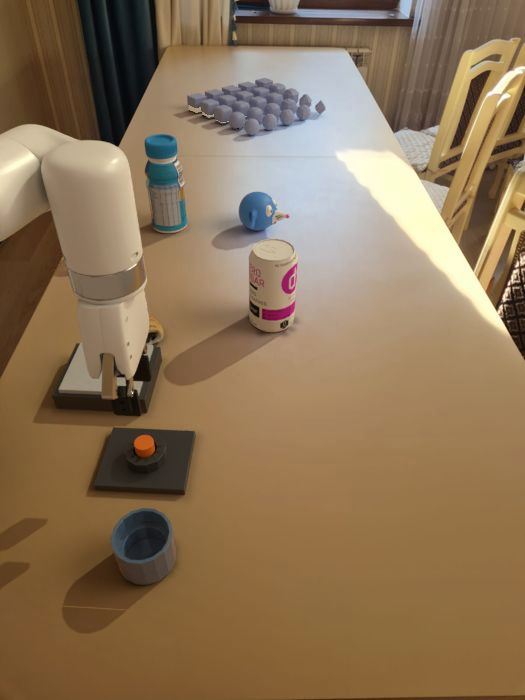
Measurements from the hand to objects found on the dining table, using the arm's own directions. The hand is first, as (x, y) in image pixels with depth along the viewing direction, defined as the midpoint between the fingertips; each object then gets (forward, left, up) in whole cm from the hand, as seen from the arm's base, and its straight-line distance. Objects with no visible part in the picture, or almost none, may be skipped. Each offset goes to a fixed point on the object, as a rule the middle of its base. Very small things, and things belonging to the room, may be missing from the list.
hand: (133, 395), depth 66 cm
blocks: (+7, +148, -14) cm, 149 cm away
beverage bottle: (-9, +67, -14) cm, 69 cm away
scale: (-9, +15, -13) cm, 22 cm away
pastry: (-7, +27, -14) cm, 31 cm away
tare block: (0, 0, -13) cm, 13 cm away
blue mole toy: (+13, +67, -14) cm, 70 cm away
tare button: (0, 0, -11) cm, 11 cm away
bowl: (+3, -14, -13) cm, 20 cm away
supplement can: (+16, +33, -14) cm, 39 cm away
